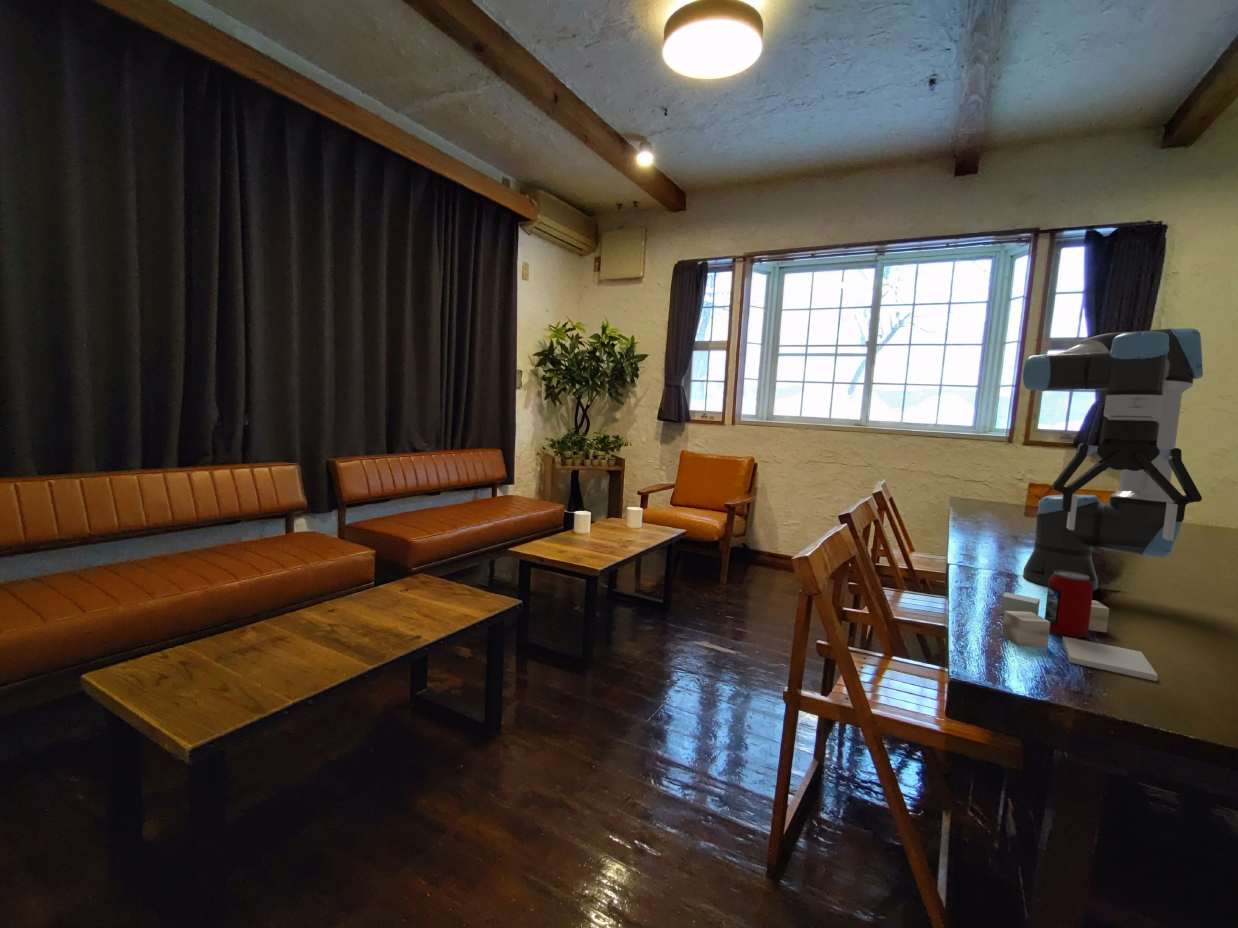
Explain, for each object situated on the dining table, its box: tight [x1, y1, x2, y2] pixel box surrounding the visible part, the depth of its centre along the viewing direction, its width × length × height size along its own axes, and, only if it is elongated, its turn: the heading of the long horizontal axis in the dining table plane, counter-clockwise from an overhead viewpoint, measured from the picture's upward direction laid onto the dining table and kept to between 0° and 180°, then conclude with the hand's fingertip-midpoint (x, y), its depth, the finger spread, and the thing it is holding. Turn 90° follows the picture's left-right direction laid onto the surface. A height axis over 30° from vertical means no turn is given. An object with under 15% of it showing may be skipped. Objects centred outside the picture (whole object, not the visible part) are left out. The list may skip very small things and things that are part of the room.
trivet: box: [1061, 636, 1159, 682], centre depth 95 cm, size 11×11×1 cm
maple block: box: [1002, 611, 1050, 649], centre depth 102 cm, size 5×5×5 cm
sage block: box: [1000, 591, 1041, 616], centre depth 117 cm, size 4×6×4 cm, turn 46°
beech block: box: [1088, 599, 1110, 633], centre depth 111 cm, size 5×5×5 cm
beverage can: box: [1044, 570, 1094, 639], centre depth 106 cm, size 7×7×12 cm
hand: (1117, 534), depth 101 cm, fingers open, 13 cm apart
